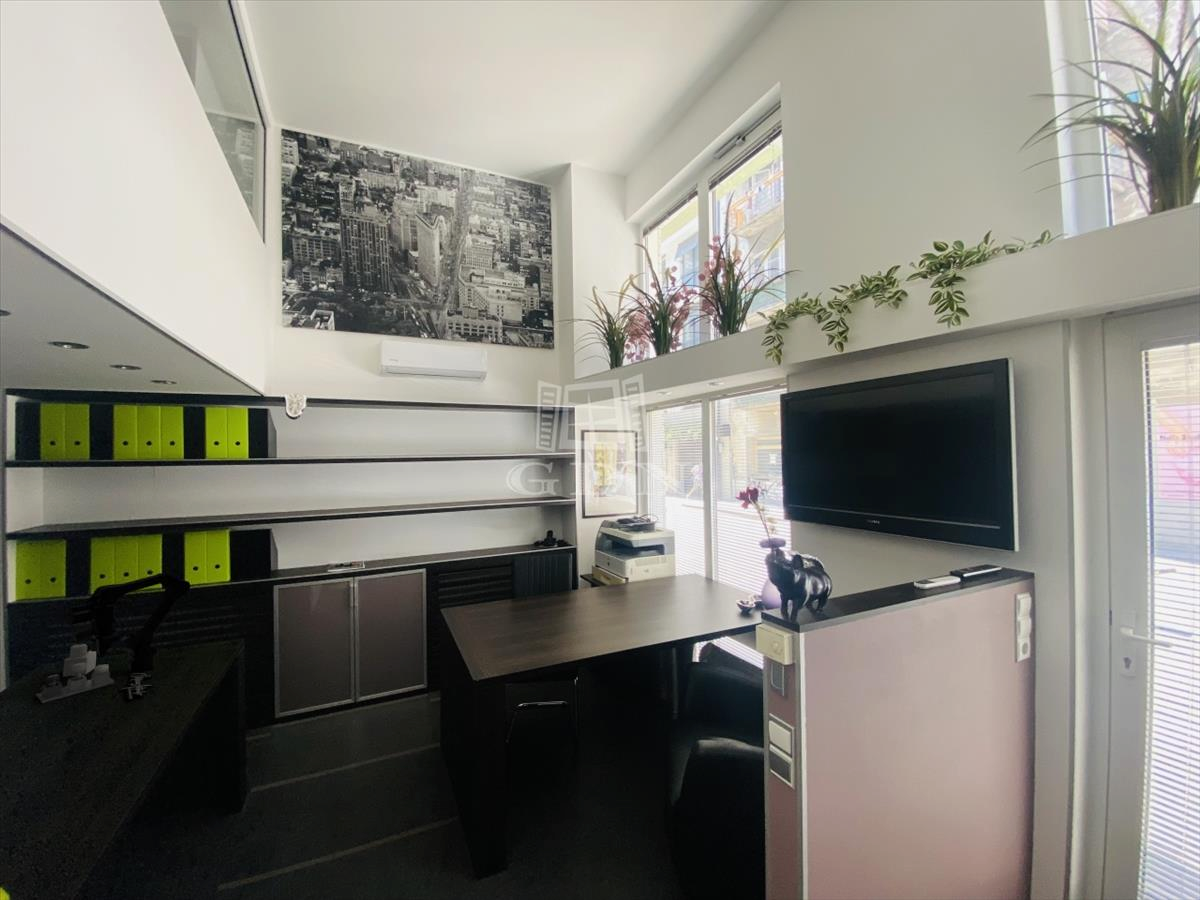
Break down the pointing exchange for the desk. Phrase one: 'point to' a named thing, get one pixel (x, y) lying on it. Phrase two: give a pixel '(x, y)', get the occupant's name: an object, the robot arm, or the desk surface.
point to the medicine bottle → (80, 658)
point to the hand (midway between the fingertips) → (101, 656)
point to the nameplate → (137, 686)
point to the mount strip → (74, 687)
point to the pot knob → (52, 680)
